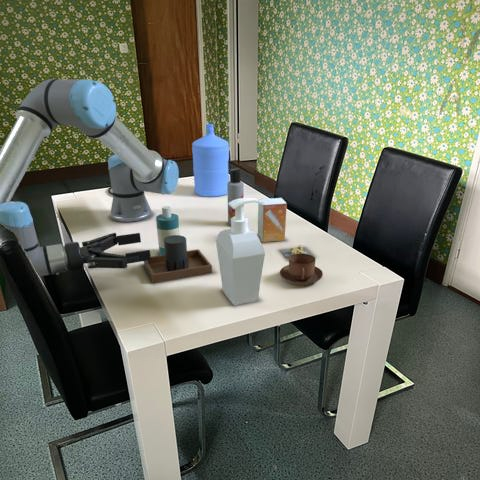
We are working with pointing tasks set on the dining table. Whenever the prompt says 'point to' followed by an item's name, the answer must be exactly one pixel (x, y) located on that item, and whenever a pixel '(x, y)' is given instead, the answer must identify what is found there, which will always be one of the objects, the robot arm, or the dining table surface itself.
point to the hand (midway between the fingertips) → (145, 245)
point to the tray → (160, 274)
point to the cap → (175, 253)
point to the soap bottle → (240, 257)
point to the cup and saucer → (301, 270)
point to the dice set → (294, 251)
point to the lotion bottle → (234, 190)
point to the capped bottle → (166, 226)
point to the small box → (272, 219)
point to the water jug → (210, 164)
